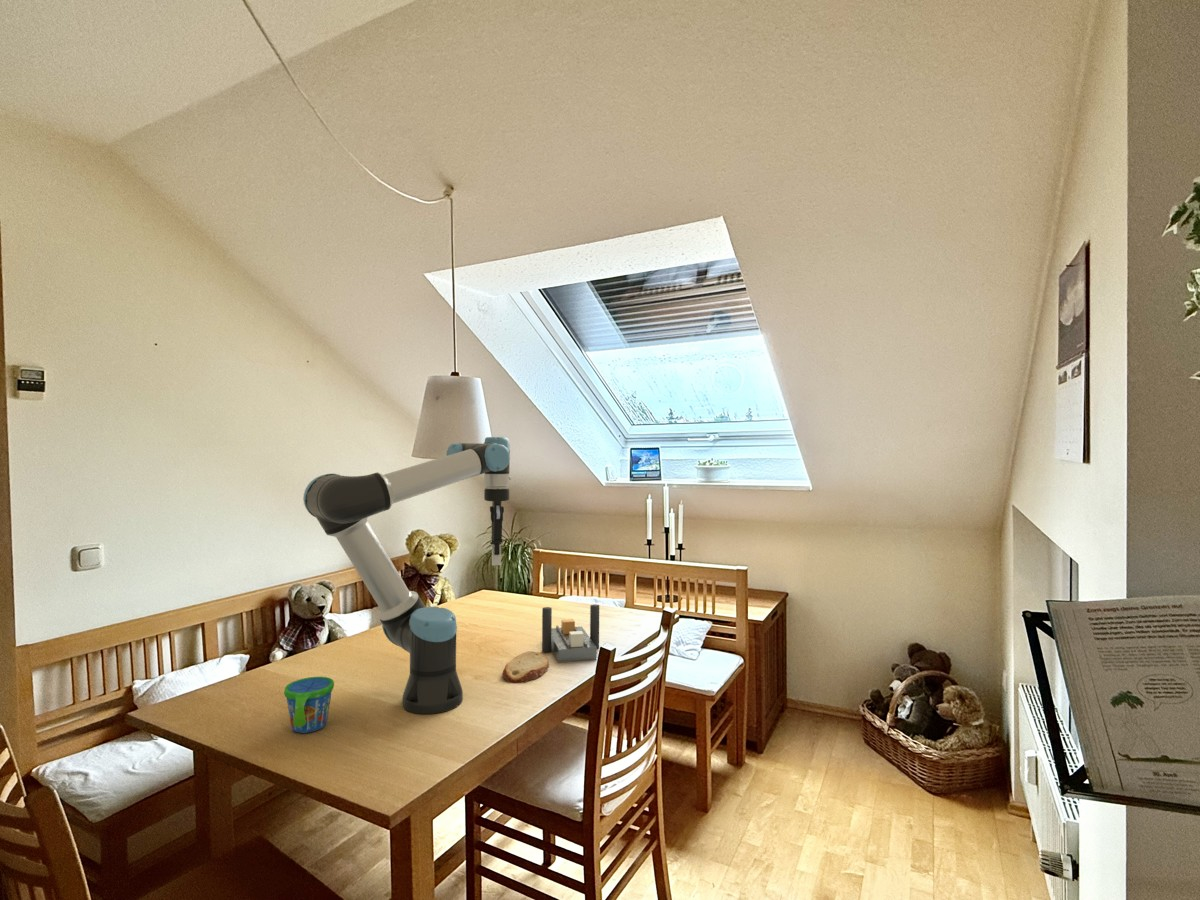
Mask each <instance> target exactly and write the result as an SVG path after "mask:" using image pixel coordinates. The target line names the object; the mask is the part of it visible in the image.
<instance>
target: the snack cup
mask: <svg viewBox="0 0 1200 900" xmlns="http://www.w3.org/2000/svg"><path fill="white" fill-rule="evenodd" d="M334 687H335V681H334V679H332V678H331V677H327V676H312V677H305V678H300V679H296V680H294V681H292V682H290V683H288V684H287V685H286V686H285V687H284V692H283V695H284V696H285V698H286V703H287V709H288V715H289V721H290V728H291V730H292V732H295V733H300V734H307V733H313V732H315V731H318V730H322V729H323V728H324V727H325V726H326V725H327V722H328V718H329V713H330V711H329V710H330V706H331V700H332V692H333V689H334Z"/></svg>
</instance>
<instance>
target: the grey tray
mask: <svg viewBox="0 0 1200 900" xmlns="http://www.w3.org/2000/svg"><path fill="white" fill-rule="evenodd" d="M575 631H582V632H583V634H584V646H583V647H570V645H569V634H563V633H562V632H561V627H559V625H556V626H555V627H554V628H551V651H552V652H553V655H554V656H555V658H556V660H557V662H558V663H573V662H583V661H586V662H587V661H595V660H596V658H597V656H598V655H597V653H598V652H597V650H598V649H597V647H596V645H595V644H594V643H593V641H592V640H591V639H590V635H589V634H588V633H587V632H586V630H585V629H584V627H583V626H575Z"/></svg>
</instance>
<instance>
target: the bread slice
mask: <svg viewBox="0 0 1200 900" xmlns="http://www.w3.org/2000/svg"><path fill="white" fill-rule="evenodd" d="M549 663H550V662H549V659H548V657H547V656H546V655H545V654H543V653H541V652H536V651H532V650H527V651H524V652H522V653H519V654H518V655H516V656H515V657H513V658H512V659H511V660H509V661H508V662H506V665H505V666H504V669H503V670H502V678H503V679H504V680H505V681H507V682H508V683H509V684H523V683H526V682H530V681H534V680H536V679H539V678H541V677H542V676H544V675H545V674H546V673H547V672H548V670H549V668H550V664H549Z"/></svg>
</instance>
